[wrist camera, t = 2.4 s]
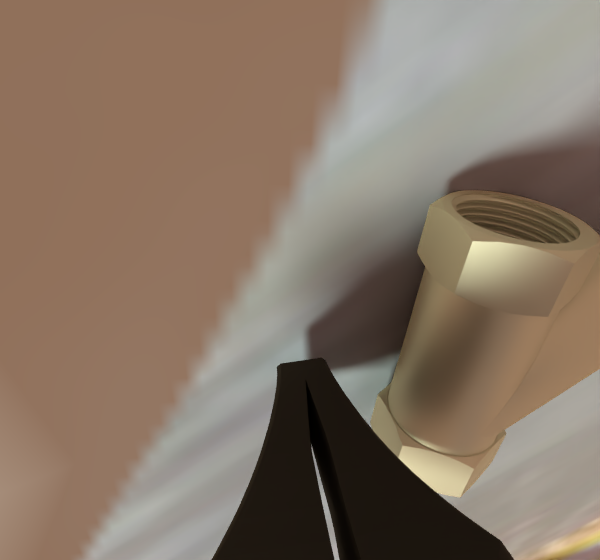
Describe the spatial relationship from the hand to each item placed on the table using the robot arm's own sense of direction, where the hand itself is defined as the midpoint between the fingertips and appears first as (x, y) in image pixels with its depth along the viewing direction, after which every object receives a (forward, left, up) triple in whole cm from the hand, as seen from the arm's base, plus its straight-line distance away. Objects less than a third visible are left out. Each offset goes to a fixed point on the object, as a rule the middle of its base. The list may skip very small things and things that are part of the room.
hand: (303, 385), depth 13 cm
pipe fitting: (+1, -6, -2) cm, 6 cm away
